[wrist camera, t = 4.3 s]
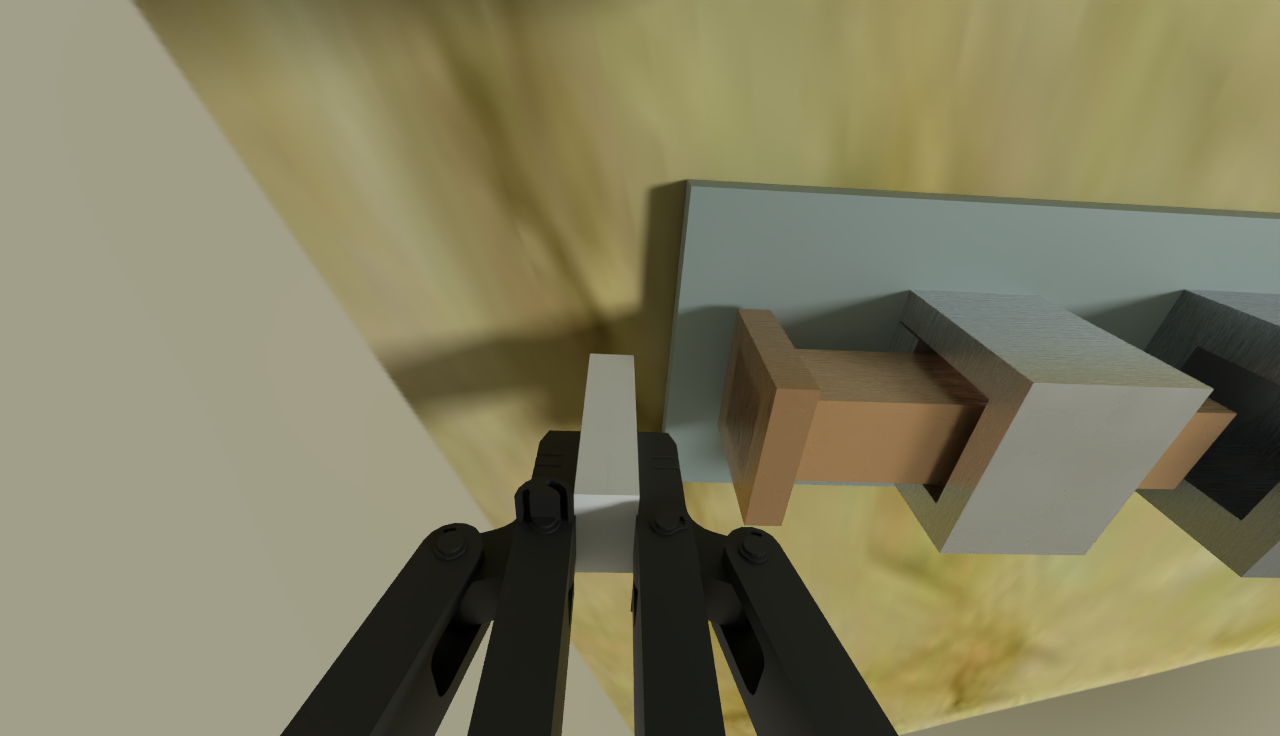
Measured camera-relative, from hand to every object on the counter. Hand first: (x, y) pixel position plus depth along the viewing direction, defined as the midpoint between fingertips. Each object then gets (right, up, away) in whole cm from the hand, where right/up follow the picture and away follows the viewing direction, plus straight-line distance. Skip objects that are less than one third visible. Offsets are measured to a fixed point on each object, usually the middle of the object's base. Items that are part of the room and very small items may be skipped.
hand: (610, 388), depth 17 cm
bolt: (+12, 0, +2) cm, 12 cm away
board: (+15, +1, +4) cm, 16 cm away
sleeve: (+13, +1, +3) cm, 14 cm away
